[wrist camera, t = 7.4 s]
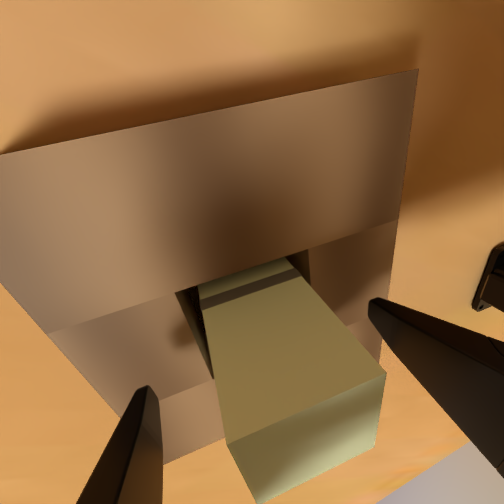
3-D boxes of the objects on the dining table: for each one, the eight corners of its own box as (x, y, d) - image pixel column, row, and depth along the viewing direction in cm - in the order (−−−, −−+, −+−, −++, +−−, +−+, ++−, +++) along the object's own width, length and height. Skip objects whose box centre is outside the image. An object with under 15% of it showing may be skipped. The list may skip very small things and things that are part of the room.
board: (357, 82, 10) (418, 68, 8) (348, 335, 18) (378, 369, 16) (-12, 158, 8) (-95, 174, 5) (163, 411, 16) (162, 465, 14)
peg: (269, 238, 13) (387, 371, 6) (279, 297, 15) (375, 446, 8) (192, 262, 12) (224, 444, 5) (213, 321, 14) (257, 506, 7)
